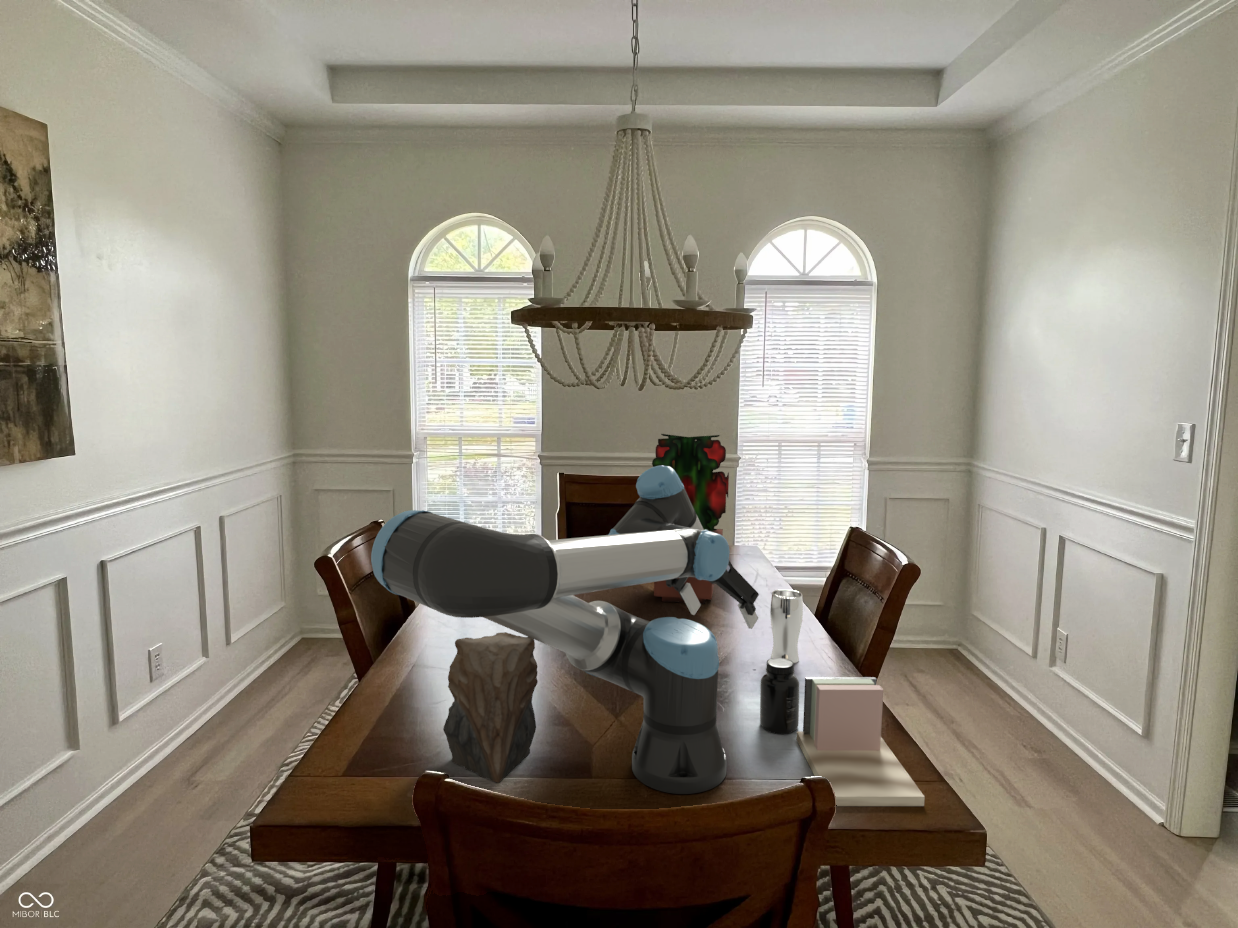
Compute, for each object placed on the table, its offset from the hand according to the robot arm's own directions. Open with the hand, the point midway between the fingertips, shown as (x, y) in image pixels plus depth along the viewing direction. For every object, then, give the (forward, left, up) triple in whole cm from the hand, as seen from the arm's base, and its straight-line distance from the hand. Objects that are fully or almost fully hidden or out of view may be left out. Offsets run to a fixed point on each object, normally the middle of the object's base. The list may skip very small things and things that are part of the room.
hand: (724, 616), depth 149 cm
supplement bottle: (-5, -16, -16) cm, 23 cm away
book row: (-5, -29, -14) cm, 32 cm away
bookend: (-3, -27, -14) cm, 30 cm away
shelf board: (-10, -34, -15) cm, 38 cm away
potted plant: (+43, +45, -16) cm, 64 cm away
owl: (-49, +10, -15) cm, 52 cm away
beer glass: (+23, 0, -16) cm, 28 cm away
